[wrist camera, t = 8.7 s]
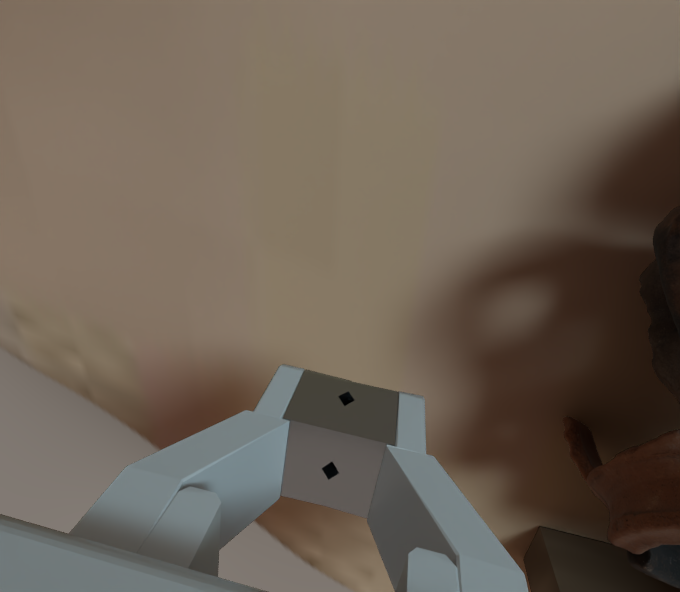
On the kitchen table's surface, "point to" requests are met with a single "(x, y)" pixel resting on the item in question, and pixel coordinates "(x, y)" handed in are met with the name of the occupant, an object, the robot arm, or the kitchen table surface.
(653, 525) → the pottery mug
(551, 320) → the kitchen table surface
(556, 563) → the stand
